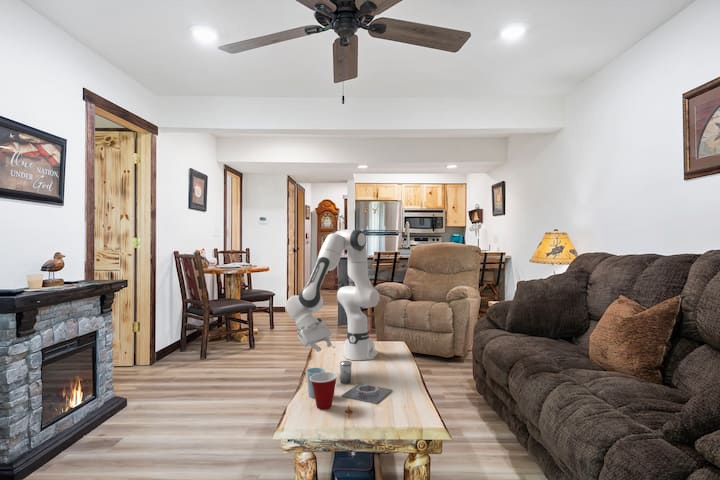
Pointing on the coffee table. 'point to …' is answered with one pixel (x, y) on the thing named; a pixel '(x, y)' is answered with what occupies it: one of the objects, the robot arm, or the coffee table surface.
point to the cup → (310, 386)
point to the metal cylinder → (345, 372)
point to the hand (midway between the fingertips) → (325, 348)
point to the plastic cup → (324, 389)
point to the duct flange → (367, 393)
